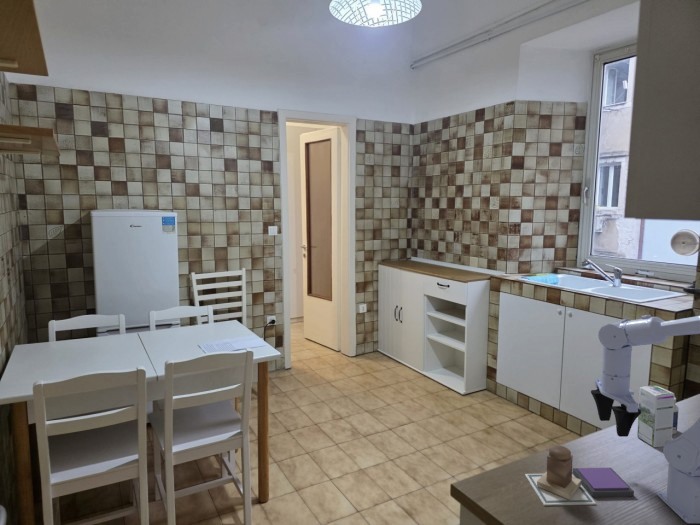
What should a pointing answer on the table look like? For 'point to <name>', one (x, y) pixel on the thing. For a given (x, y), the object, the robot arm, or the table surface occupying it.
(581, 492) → the form card
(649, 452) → the table surface
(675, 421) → the pill bottle
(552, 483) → the stamp
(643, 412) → the syrup box
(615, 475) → the ink pad
